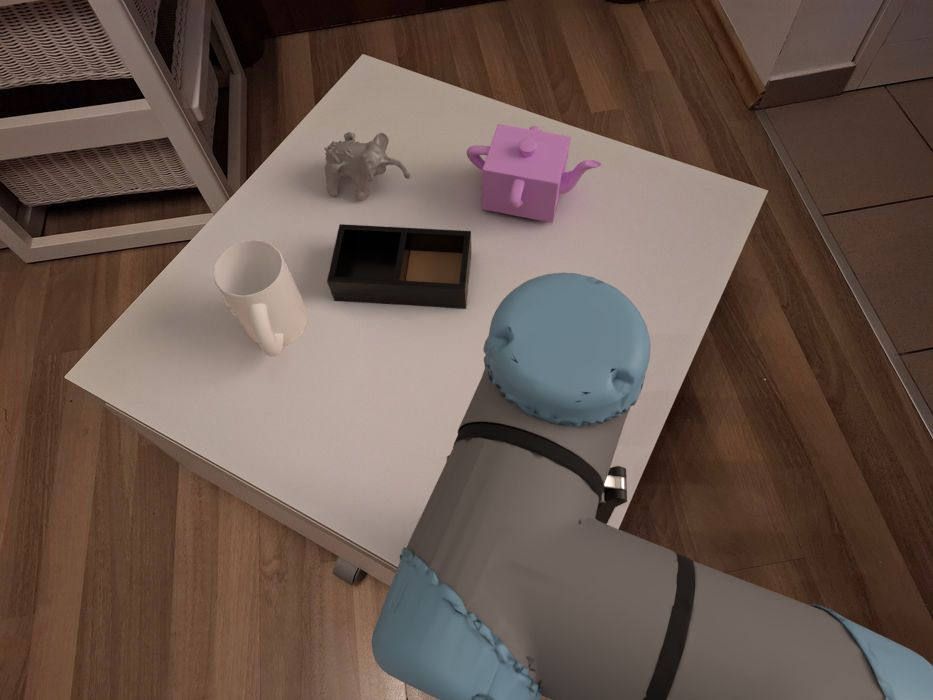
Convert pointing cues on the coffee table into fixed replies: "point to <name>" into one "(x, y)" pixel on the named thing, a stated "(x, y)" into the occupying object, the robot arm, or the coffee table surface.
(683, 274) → the coffee table surface
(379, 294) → the black divided tray
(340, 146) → the gray elephant figurine
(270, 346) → the mug
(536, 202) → the teapot
